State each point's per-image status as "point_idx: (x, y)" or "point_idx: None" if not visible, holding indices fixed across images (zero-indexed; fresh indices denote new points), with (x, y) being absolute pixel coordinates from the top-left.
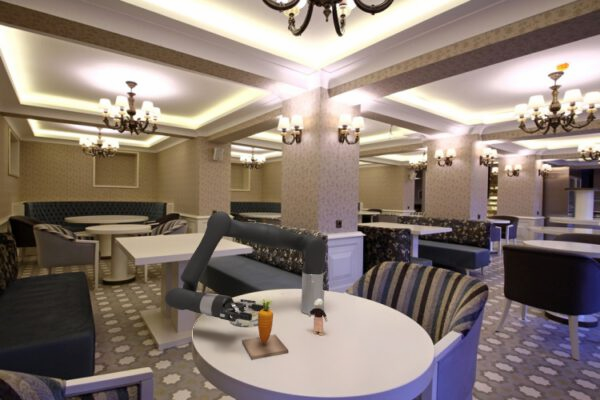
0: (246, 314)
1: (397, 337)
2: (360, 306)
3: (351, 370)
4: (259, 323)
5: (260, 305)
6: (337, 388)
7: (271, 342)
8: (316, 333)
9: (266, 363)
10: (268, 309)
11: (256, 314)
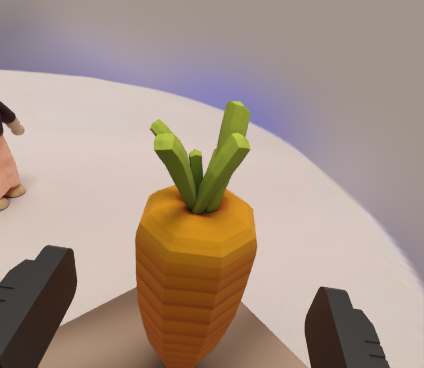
0: (356, 337)
1: (50, 92)
2: None
3: None
4: (237, 299)
5: (52, 268)
6: (304, 170)
7: (143, 335)
8: (7, 200)
9: None
10: (177, 190)
11: None
